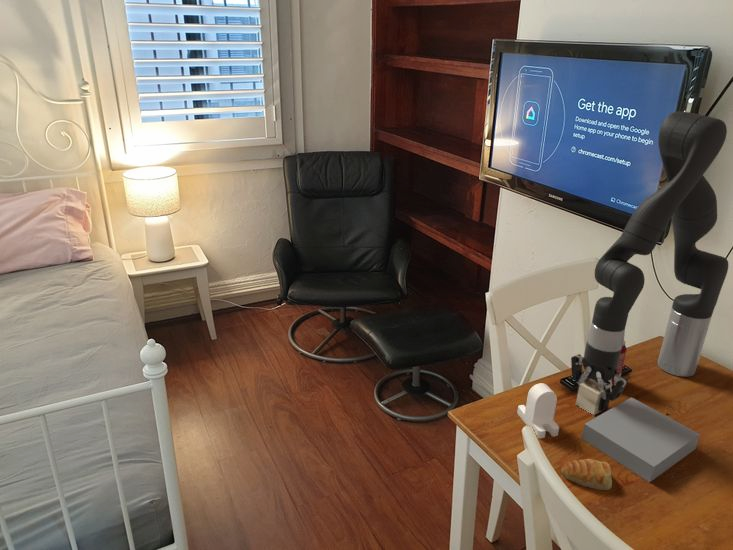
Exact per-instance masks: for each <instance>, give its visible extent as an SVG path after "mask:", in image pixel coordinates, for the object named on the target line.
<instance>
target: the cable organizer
mask: <svg viewBox="0 0 733 550" xmlns="http://www.w3.org/2000/svg"><path fill="white" fill-rule="evenodd" d="M557 402H558V397H557V395H556V393H555V392H554V391H553V390H552V389H551V388H550V387H549V386H548V385H547V384H546V383H540V382H539V383H537V384H534V385H533V386H531V388H530V389H529V391H528V393H527V399H526V404H525V405H524V404H520V405H518V407H517V415H518V416H519V417H520V419H521V420H522V421H523V422H524V424H525V425H526V426H527V425H529V426H531V427H533V429H534V430H535V433H536V435H537V437H536V438H537V439H545V437H546V434H547V433H546V432H548V433H549V435H551V437H557V436H559V431H560V426H559V425H558V423H556V422H555V420H554V418H555V412H556V406H557Z"/></svg>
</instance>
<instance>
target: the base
mask: <svg viewBox="0 0 733 550" xmlns="http://www.w3.org/2000/svg"><path fill="white" fill-rule="evenodd" d="M700 436H701V433H699V432H697V431H694V430H693V429H691V428H689V427H687V426H685V425H684V424H681V423H680V422H678V421H676V420H674V419H672V417H671V418H670V417H668V416H667V415H665V414H663V413H661V411H660V412H659V411H658V410H656V409H654V408H653V407H650V406H649V405H647V404H645V403H643V402H641V401H639V400H637V399H635V398H634V397H630V398H627V399H625V400H624V401H623V402H620V403H619V404H616V406H613V407H612V408H610V409H608V410H607V411H604V412H602V413H601V414H599V415H597V416H596V417H594V418H592V419H591V420H589V421H587V422H585V423H584V425H583V429H582V433H581V439H582V440H583V441H584V442H586V443H588V445H590V446H593V447H594V448H595V449H597V450H599V451H600V452H601V453H603V454H605V455H606V456H608V457H609V458H611V459H612V460H614V461H615V462H617V463H619V465H622V466H623V467H624V468H626V469H628V470H630V471H631V472H633V473H634V474H635V475H637V476H639V477H640V478H642V479H643V480H645V481H646V482H648V483H651V482H653V480H655V479H656V478H658V477H659V476H661V475H662V474H663V473H665V472H666V471H668V470H669V469H671V468H672V467H673V466H674V465H675V464H677V463H678V462H680V461H681V460H683V458H686V457H687V456H688V455H689V454H691V453H692V452H693V451H695V450H696V448H697V446H698V443H699V439H700Z"/></svg>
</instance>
